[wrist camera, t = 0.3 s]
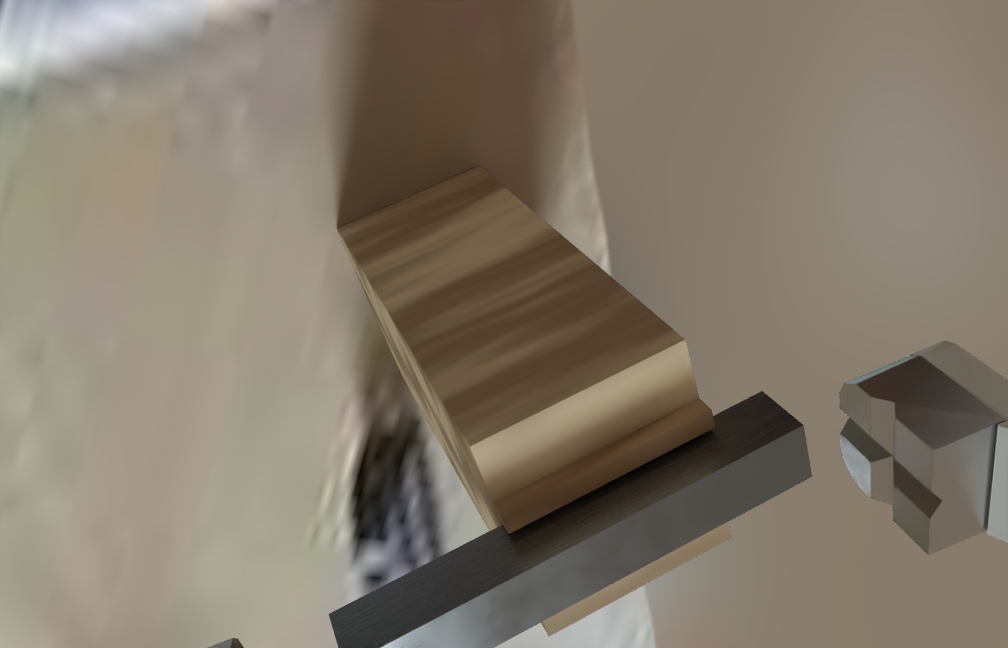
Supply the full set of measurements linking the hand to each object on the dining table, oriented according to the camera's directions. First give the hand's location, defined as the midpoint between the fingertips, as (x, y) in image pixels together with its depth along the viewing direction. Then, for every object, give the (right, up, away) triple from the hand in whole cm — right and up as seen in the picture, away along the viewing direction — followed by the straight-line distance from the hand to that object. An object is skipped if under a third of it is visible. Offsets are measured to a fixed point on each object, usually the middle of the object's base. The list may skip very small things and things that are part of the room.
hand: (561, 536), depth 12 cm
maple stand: (-5, +6, +52) cm, 52 cm away
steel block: (+2, -6, +30) cm, 30 cm away
